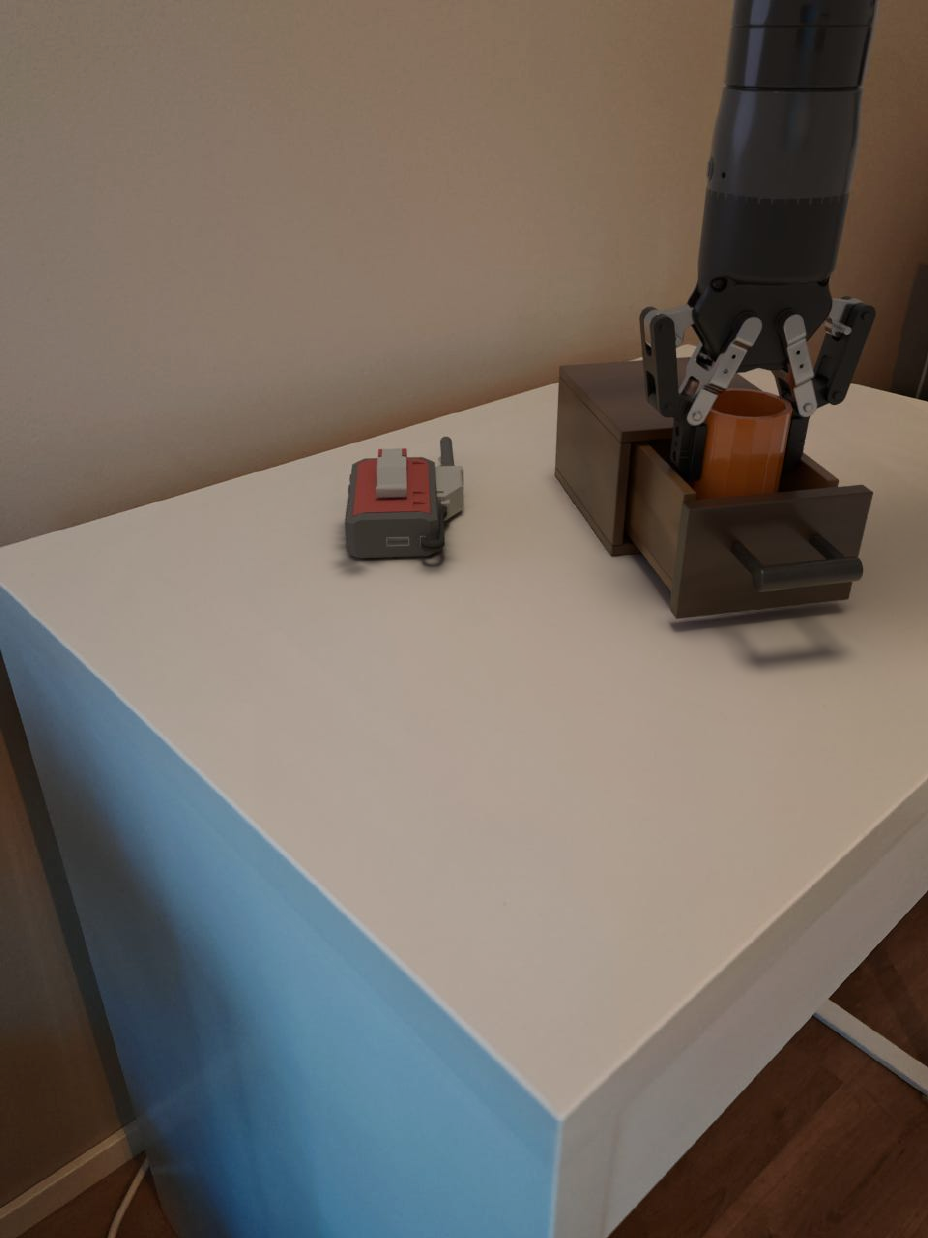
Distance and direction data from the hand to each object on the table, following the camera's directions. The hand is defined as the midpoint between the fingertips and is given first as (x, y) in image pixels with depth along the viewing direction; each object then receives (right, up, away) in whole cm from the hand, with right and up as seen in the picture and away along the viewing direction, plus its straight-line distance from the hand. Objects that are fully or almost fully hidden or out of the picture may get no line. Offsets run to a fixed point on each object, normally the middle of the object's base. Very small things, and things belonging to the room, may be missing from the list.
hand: (734, 471), depth 61 cm
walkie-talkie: (-21, -1, +14) cm, 25 cm away
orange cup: (0, -1, +1) cm, 1 cm away
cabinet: (-2, -1, +13) cm, 13 cm away
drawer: (0, -6, +2) cm, 7 cm away
